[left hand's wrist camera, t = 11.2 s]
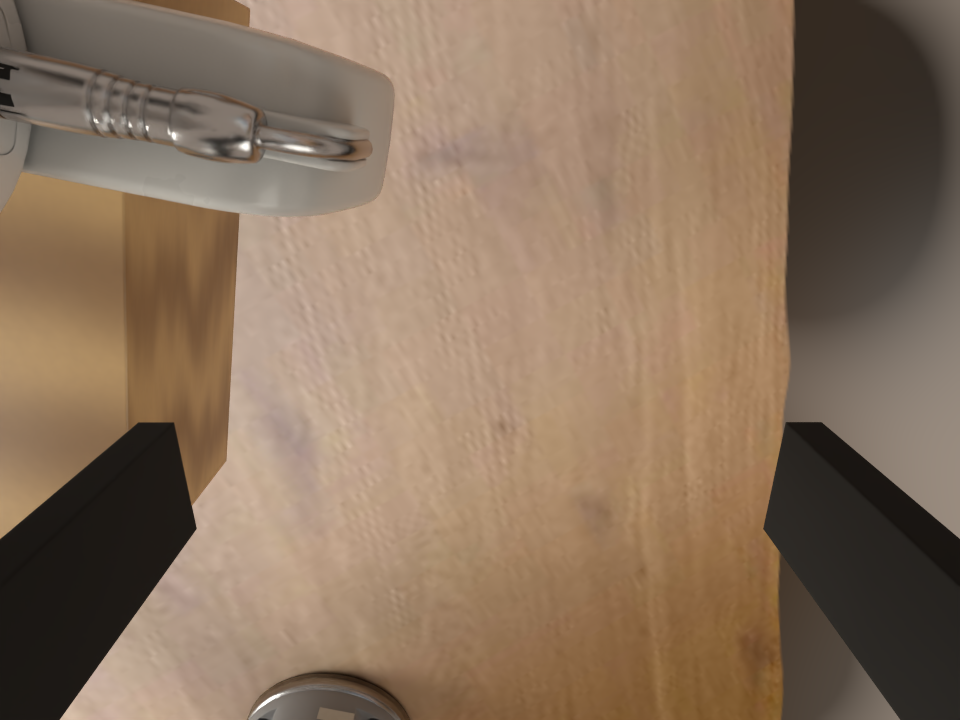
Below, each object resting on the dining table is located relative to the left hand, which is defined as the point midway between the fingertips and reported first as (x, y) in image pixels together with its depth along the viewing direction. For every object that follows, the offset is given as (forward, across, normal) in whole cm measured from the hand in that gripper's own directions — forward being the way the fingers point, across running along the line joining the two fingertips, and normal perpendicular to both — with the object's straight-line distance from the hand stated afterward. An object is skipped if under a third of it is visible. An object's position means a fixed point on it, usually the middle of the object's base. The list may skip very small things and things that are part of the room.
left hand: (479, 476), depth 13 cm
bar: (+16, +14, -2) cm, 21 cm away
